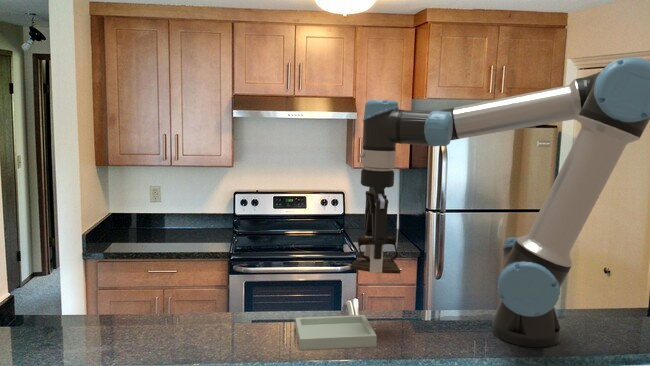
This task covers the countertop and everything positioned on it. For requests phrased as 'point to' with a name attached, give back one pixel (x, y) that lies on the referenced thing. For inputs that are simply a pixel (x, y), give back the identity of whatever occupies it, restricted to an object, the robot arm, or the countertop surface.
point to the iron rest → (334, 332)
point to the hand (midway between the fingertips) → (372, 267)
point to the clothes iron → (388, 263)
